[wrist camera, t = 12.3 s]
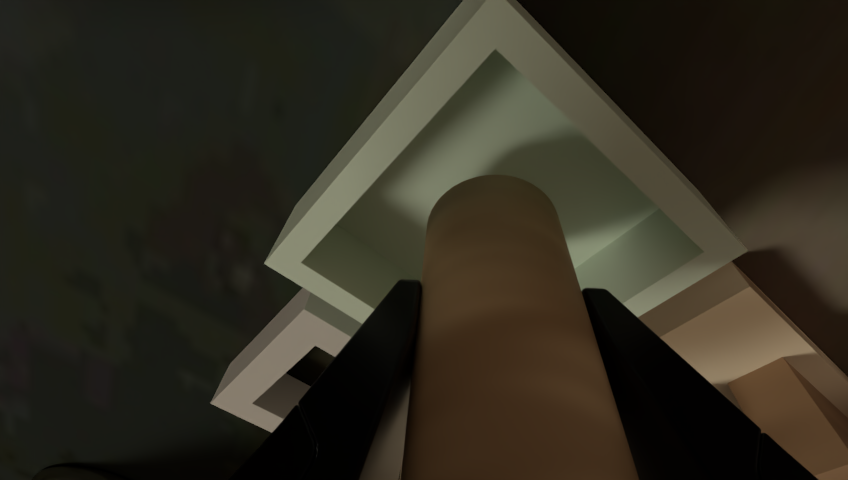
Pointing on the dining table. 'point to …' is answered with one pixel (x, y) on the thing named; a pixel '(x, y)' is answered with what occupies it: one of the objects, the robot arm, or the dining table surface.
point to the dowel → (506, 348)
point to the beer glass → (74, 474)
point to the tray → (500, 172)
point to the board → (760, 366)
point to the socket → (281, 360)
